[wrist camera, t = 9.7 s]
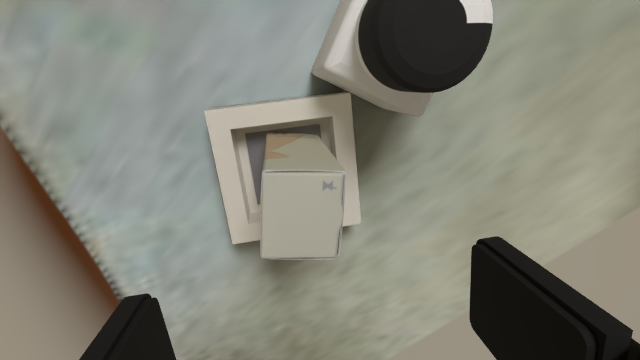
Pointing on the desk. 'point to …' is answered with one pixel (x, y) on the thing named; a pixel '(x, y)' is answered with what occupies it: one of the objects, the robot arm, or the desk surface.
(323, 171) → the box
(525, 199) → the desk surface
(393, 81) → the medicine bottle
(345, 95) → the shallow square tray
